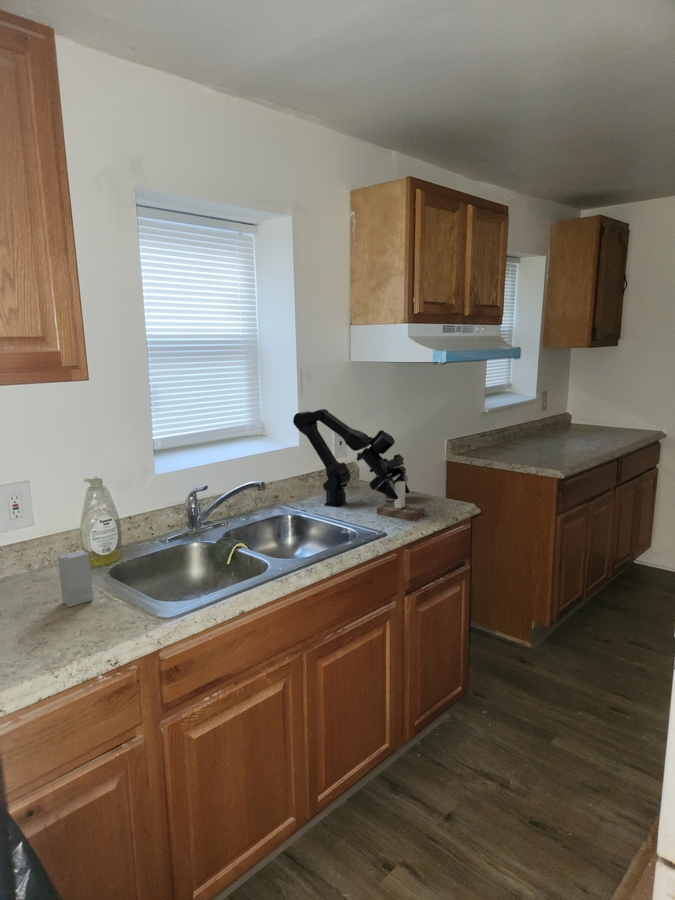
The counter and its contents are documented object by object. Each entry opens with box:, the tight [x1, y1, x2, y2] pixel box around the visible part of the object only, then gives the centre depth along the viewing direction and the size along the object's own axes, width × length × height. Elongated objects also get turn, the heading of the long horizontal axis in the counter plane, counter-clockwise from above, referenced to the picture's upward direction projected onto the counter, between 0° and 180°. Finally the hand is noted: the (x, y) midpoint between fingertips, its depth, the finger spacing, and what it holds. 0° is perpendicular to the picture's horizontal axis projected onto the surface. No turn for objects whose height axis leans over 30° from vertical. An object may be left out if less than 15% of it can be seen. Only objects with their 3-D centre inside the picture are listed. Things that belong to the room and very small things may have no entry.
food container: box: [384, 473, 409, 503], centre depth 229 cm, size 12×6×10 cm, turn 143°
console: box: [376, 502, 426, 522], centre depth 211 cm, size 15×8×3 cm, turn 58°
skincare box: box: [57, 549, 94, 608], centre depth 142 cm, size 6×4×12 cm
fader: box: [394, 481, 406, 508], centre depth 210 cm, size 2×4×9 cm
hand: (403, 495), depth 210 cm, fingers open, 9 cm apart
